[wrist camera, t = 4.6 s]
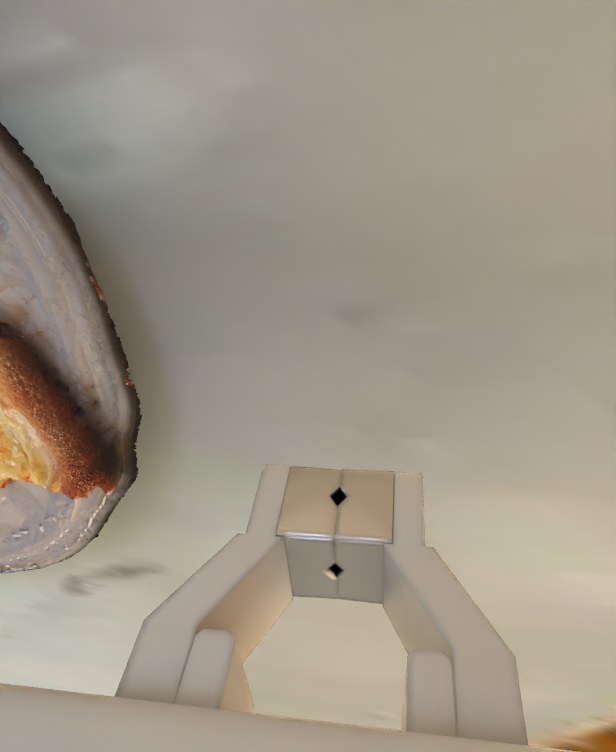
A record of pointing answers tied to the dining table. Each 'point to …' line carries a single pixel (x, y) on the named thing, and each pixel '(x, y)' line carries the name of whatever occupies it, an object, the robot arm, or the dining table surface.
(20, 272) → the food plate
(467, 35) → the dining table surface
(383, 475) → the robot arm
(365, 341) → the dining table surface
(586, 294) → the dining table surface
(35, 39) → the dining table surface
